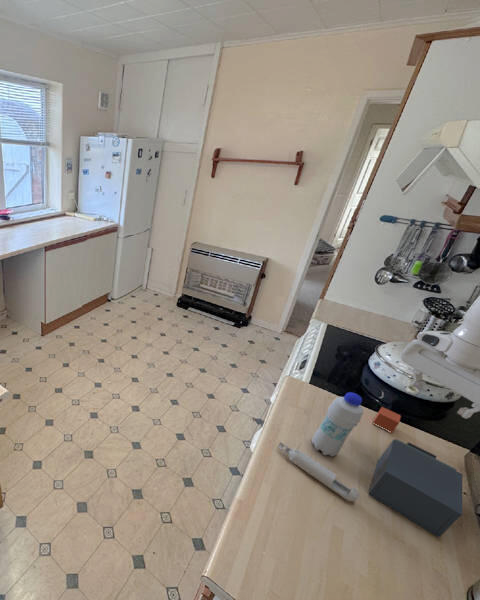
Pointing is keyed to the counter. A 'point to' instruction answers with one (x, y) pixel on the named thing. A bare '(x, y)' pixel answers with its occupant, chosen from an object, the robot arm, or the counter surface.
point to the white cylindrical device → (319, 473)
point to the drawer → (424, 452)
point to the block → (387, 419)
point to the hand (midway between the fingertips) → (438, 400)
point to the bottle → (338, 424)
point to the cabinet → (418, 488)
